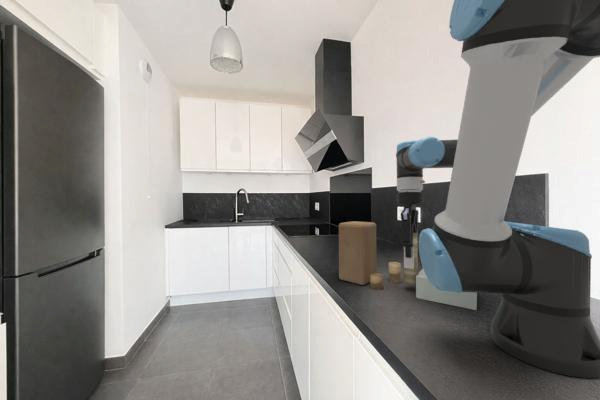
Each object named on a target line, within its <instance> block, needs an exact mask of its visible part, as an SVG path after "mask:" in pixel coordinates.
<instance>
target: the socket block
mask: <svg viewBox="0 0 600 400" xmlns="http://www.w3.org/2000/svg"><path fill="white" fill-rule="evenodd" d="M415 298H416V299H420V300H423V301H424V300H425V301H430V302H434V303H441V304H445V305H450V306H454V307H460V308H463V309H469V310H474V311H477V310H478V309H477V307H478V305H477V303H478V302H477V301H478V293H477V292H462V293H457V292H450V291H441V290H438V289H437V288H435V287H434V286H433V285H432V284H431V283H430V282H429V280H428V278H427V276H426V274H425V272H424V269H423V268H421V270H420V271H418V275H417V276H416V283H415Z"/></svg>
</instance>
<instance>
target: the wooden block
mask: <svg viewBox="0 0 600 400" xmlns="http://www.w3.org/2000/svg"><path fill="white" fill-rule="evenodd" d="M377 265H378V264H377V223H375V222H372V221H357V220H356V221H346V222H345V221H344V222H340V223H339V224H338V279H339V280H341V281H345V282H349V283H353V284H357V285H360V286H365V285H367V284H368V283H369V284H370V274H372V273H377V272H378V271H377V268H378V267H377Z"/></svg>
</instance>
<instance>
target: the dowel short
mask: <svg viewBox="0 0 600 400" xmlns="http://www.w3.org/2000/svg"><path fill="white" fill-rule="evenodd" d="M369 284H370V285H369V287H370V289H373V290H376V291H378V290H379V291H380V290H384V274H382V273H372V274H370V282H369Z"/></svg>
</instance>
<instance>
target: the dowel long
mask: <svg viewBox="0 0 600 400" xmlns="http://www.w3.org/2000/svg"><path fill="white" fill-rule="evenodd" d="M418 242H419V236H418V237H417V233H413V247H414V269H410V268H404V267H403V282H404V283H407V284H416V276H417V275H418V274H419V257H418V256H419V254H418V253H419V245H418Z"/></svg>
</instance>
